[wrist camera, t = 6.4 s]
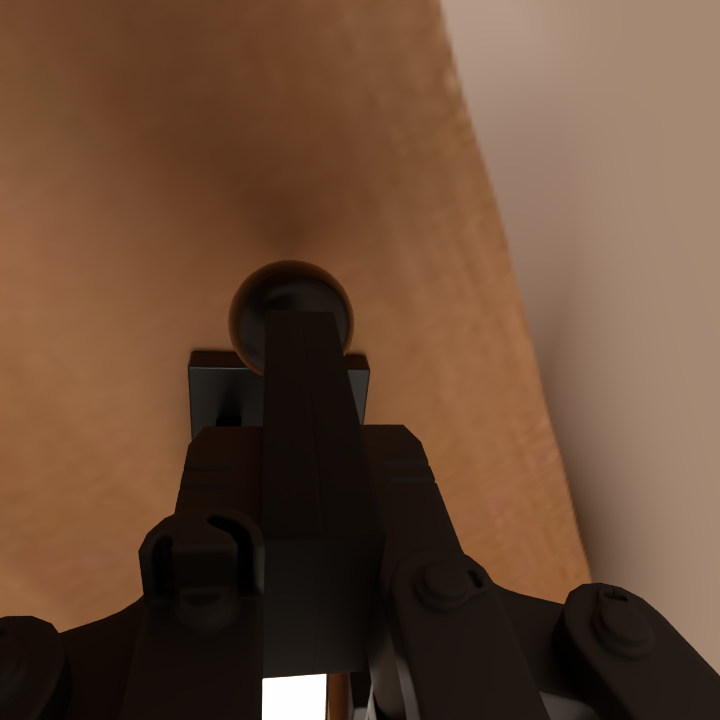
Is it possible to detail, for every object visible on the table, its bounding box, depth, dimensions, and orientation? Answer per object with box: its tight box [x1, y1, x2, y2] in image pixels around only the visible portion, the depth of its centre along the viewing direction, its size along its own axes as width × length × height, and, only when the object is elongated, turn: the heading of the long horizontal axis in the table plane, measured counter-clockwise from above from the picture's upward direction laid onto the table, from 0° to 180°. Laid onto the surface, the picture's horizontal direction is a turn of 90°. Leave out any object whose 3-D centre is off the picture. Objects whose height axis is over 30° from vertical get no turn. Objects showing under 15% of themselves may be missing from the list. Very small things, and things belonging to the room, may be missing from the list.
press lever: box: [228, 260, 354, 720], centre depth 15 cm, size 13×3×3 cm, turn 174°
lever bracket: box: [188, 352, 372, 720], centre depth 19 cm, size 9×7×13 cm
